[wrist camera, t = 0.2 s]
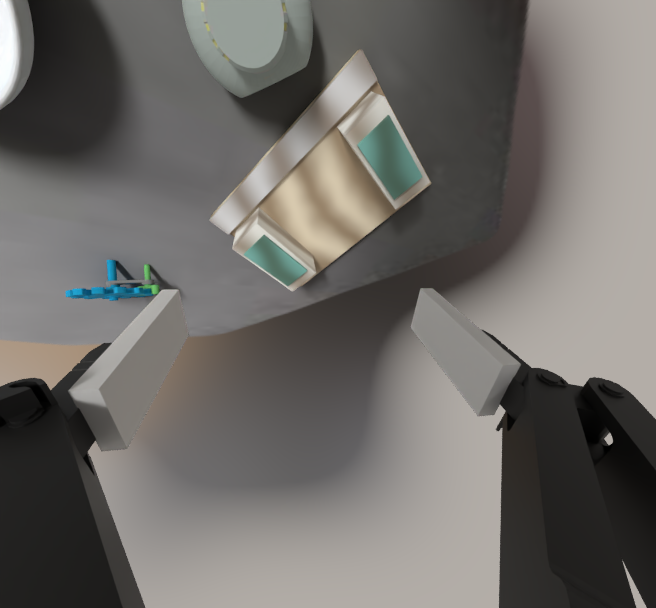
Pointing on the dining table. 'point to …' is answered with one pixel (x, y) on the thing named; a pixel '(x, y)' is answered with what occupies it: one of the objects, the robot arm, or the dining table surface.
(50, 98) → the dining table surface
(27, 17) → the serving bowl
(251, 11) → the air freshener
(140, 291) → the gear
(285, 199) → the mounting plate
